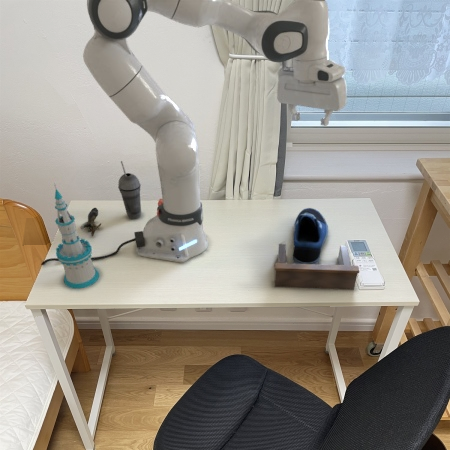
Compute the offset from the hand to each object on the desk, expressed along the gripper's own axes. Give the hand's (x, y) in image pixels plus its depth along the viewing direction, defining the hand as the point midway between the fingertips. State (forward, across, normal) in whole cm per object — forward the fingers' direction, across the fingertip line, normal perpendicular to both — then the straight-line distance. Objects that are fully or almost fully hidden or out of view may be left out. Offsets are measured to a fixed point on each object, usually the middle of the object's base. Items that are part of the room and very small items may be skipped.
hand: (310, 122), depth 128 cm
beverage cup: (+29, -50, -32) cm, 66 cm away
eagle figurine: (+28, -54, -46) cm, 77 cm away
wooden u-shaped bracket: (+35, +13, -18) cm, 42 cm away
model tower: (+29, -36, -64) cm, 79 cm away
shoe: (+35, +4, -6) cm, 36 cm away
